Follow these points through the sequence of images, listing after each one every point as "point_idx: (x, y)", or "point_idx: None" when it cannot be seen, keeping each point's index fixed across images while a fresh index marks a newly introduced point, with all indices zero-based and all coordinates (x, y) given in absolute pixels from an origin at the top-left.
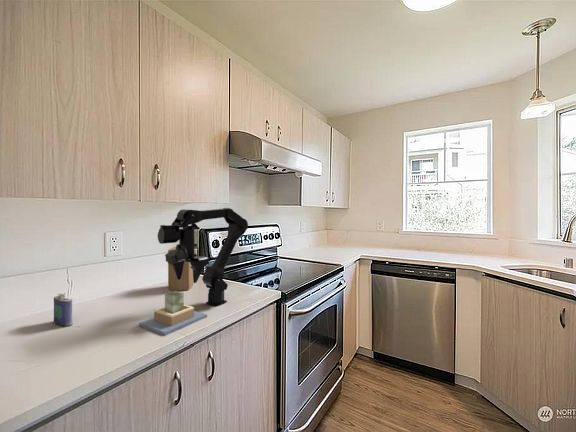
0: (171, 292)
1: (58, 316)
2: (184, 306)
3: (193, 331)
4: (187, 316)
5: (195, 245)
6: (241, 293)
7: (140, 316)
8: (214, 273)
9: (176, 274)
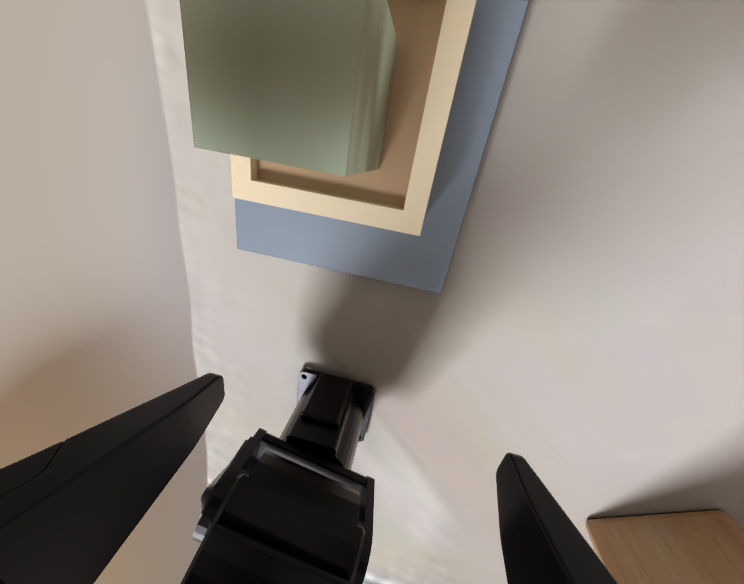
0: (349, 96)
1: None
2: (310, 191)
3: (152, 36)
4: None
5: None
6: None
7: (675, 70)
8: (189, 578)
9: (569, 533)
